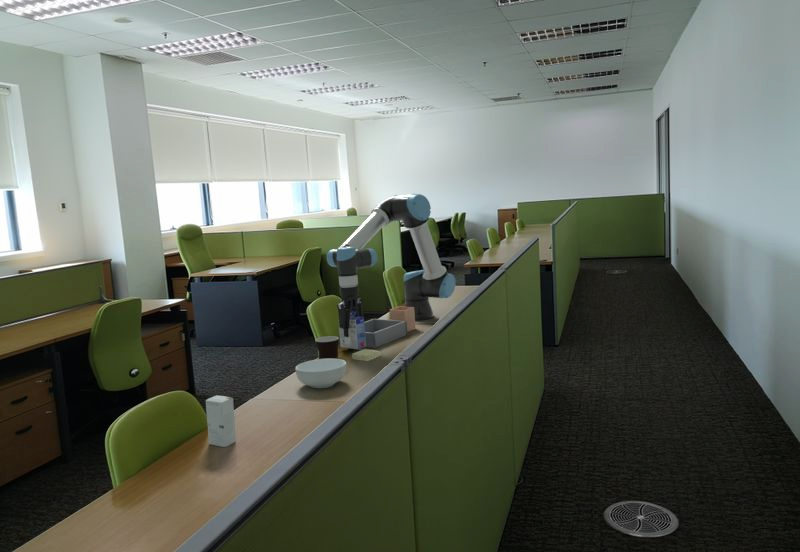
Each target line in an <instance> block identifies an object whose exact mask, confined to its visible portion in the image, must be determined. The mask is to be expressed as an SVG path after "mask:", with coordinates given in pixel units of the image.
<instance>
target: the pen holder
mask: <svg viewBox="0 0 800 552" xmlns="http://www.w3.org/2000/svg"><path fill="white" fill-rule="evenodd" d="M389 320H396V321H407V333H408V332H411V331H413V330H417V329H416V320H415V312H414V307H404V306H402V305H399V306H397V307H394V308H391V309H389Z"/></svg>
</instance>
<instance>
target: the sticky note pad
mask: <svg viewBox="0 0 800 552" xmlns="http://www.w3.org/2000/svg"><path fill="white" fill-rule="evenodd" d="M351 355H352V356H351V357H352V360H357V361H363V360H364V361H365V362H369V360H370V361H372V360H375V359H377V358H379V357H378V356H380V357H381V350H374V349H369V348H363V349H360V350H358V351H355V352H353V353H352V354H351ZM376 357H377V358H376ZM374 358H375V359H374ZM371 359H372V360H371Z"/></svg>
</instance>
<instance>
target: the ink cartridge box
mask: <svg viewBox="0 0 800 552" xmlns="http://www.w3.org/2000/svg"><path fill="white" fill-rule="evenodd" d="M352 313H354V315H352ZM355 315H356V311H351V312H350V320H349V328H350V329H351V342H352V345H347V344H345V337H344V330H343V329H342V328H339V327H338V331H339V332H338V333H339V345H340V348H347V349H354V350H361V349H362V348H363V349H364V348H367V347H366V335H365V324H364V322H365V317H364V316H363V317H355ZM337 320H338V322H339V318H338V319H337Z"/></svg>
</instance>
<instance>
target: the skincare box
mask: <svg viewBox="0 0 800 552" xmlns="http://www.w3.org/2000/svg"><path fill="white" fill-rule="evenodd" d="M234 408H235V407H234V398H233V397H231V396H227V395H226V396H224V395H219V394H218V395H217V394H216V395H213V396H212V397H209V398H207V399H205V411H206V421H207V423H206V424H207V433H208V434H207V435H208V443H209V445H213V446H216V447H222V448H226V447H228V446H231V445H232V444H234V443H235V442H237V438H236V423H235V410H234Z"/></svg>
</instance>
